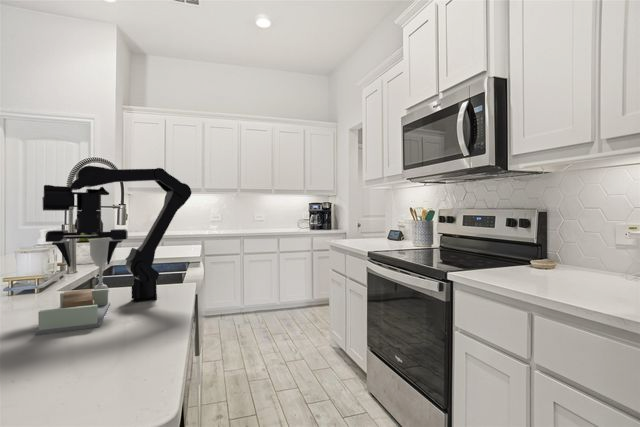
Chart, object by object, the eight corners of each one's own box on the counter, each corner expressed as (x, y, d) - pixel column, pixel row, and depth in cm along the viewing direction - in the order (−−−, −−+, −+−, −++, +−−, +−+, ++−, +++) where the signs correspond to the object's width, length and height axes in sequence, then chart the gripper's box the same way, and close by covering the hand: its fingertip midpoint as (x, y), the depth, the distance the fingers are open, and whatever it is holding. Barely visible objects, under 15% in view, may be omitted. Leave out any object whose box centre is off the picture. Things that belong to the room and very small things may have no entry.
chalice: (96, 289, 117) (96, 238, 117) (116, 289, 118) (116, 238, 118) (83, 294, 110) (83, 240, 110) (105, 294, 111) (105, 239, 110)
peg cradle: (110, 305, 98) (110, 288, 98) (99, 326, 80) (99, 305, 80) (59, 310, 93) (59, 292, 93) (35, 334, 75) (35, 312, 75)
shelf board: (92, 311, 83) (92, 299, 83) (62, 316, 79) (62, 303, 79) (91, 299, 94) (91, 288, 94) (64, 302, 90) (64, 291, 90)
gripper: (129, 210, 107) (129, 259, 107) (56, 210, 99) (56, 263, 99) (125, 210, 97) (126, 264, 97) (44, 210, 89) (45, 269, 89)
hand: (89, 265), depth 96 cm, fingers open, 9 cm apart
